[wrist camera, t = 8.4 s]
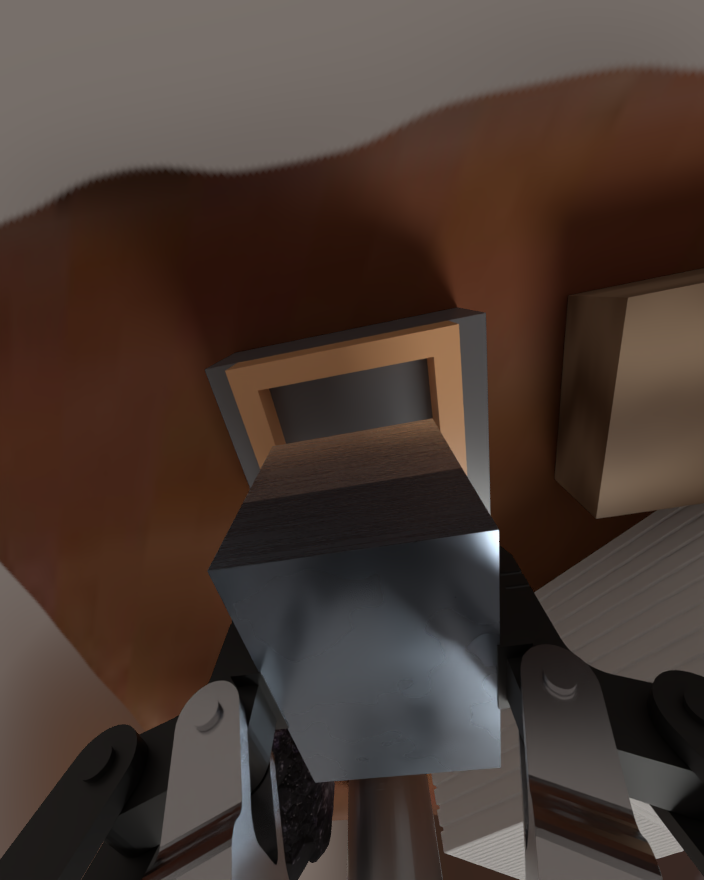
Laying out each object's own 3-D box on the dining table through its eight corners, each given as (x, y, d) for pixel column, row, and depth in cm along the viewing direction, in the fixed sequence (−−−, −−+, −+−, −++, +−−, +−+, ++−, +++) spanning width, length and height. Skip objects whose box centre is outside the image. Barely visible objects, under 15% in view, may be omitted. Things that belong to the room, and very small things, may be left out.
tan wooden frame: (468, 498, 22) (502, 561, 17) (293, 525, 23) (276, 592, 18) (457, 307, 17) (500, 315, 12) (234, 352, 18) (188, 378, 13)
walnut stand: (740, 450, 20) (824, 485, 17) (554, 479, 21) (596, 518, 17) (808, 247, 16) (945, 234, 12) (568, 295, 17) (628, 297, 13)
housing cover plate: (462, 468, 7) (499, 530, 5) (475, 684, 10) (500, 767, 9) (243, 503, 8) (207, 571, 6) (321, 699, 11) (315, 782, 9)
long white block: (791, 415, 19) (1231, 545, 10) (857, 509, 22) (1249, 683, 13) (414, 669, 30) (444, 853, 20) (491, 711, 33) (550, 890, 23)
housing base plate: (432, 418, 10) (462, 468, 7) (450, 602, 13) (475, 684, 10) (272, 446, 10) (242, 503, 8) (328, 617, 14) (321, 699, 11)
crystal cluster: (214, 696, 33) (150, 854, 24) (348, 722, 33) (333, 892, 24) (222, 750, 40) (174, 890, 31) (334, 772, 39) (317, 920, 30)
